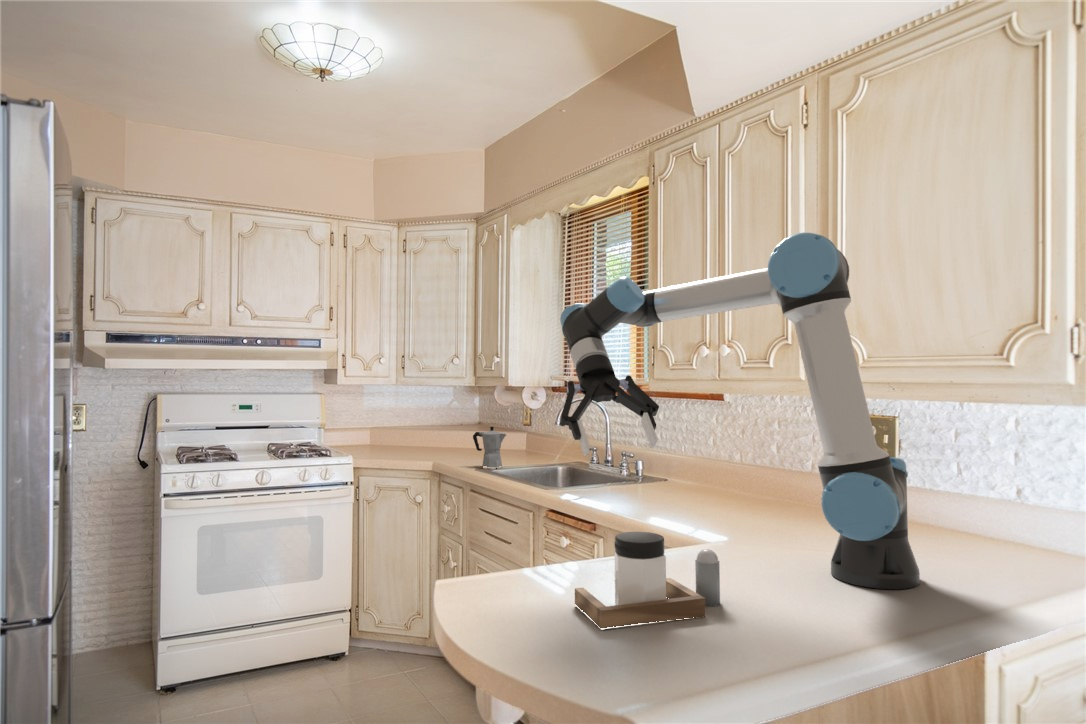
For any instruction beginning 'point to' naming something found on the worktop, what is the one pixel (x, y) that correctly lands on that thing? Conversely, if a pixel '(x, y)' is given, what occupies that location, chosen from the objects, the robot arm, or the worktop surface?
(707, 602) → the shaker
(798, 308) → the robot arm
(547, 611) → the worktop surface
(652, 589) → the jar
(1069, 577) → the worktop surface
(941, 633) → the worktop surface
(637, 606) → the dock
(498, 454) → the coffeepot
